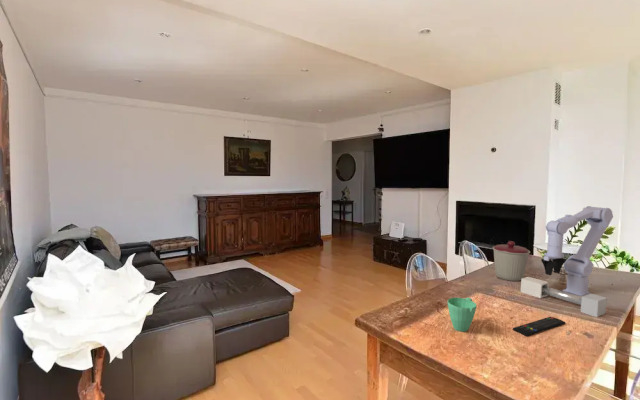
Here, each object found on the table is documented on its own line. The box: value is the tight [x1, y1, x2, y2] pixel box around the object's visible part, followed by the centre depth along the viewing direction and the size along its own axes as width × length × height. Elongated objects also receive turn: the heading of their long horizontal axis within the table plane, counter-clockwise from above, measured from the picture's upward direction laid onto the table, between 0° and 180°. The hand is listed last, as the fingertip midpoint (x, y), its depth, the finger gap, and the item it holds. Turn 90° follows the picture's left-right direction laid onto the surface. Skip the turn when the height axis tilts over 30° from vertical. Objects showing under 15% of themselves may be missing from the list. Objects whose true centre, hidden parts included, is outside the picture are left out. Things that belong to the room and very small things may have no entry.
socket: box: [580, 292, 608, 318], centre depth 132 cm, size 8×6×7 cm
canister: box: [492, 240, 531, 282], centre depth 175 cm, size 18×18×21 cm
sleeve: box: [520, 276, 549, 299], centre depth 152 cm, size 6×9×7 cm
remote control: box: [512, 316, 566, 337], centre depth 119 cm, size 5×24×1 cm, turn 115°
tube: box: [542, 286, 582, 306], centre depth 142 cm, size 4×22×4 cm, turn 29°
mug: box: [447, 297, 477, 333], centre depth 119 cm, size 15×10×10 cm
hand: (552, 273), depth 151 cm, fingers open, 7 cm apart
